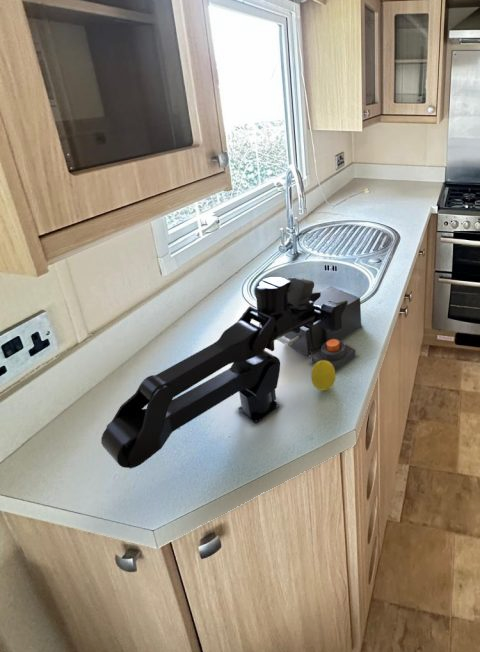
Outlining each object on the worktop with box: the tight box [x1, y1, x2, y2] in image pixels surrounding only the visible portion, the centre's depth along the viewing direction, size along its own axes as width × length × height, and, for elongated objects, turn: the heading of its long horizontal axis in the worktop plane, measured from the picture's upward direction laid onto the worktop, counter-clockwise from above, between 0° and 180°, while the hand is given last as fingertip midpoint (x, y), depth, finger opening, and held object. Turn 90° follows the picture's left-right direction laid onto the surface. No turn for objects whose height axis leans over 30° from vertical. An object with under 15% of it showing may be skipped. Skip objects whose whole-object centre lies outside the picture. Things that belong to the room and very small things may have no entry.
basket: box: [276, 317, 325, 358], centre depth 109 cm, size 16×10×8 cm, turn 141°
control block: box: [310, 340, 357, 372], centre depth 104 cm, size 9×7×4 cm
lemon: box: [310, 360, 337, 391], centre depth 93 cm, size 6×6×8 cm
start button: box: [327, 339, 340, 352], centre depth 103 cm, size 3×3×2 cm
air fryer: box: [314, 286, 362, 347], centre depth 116 cm, size 14×12×10 cm
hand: (333, 298), depth 103 cm, fingers open, 9 cm apart
